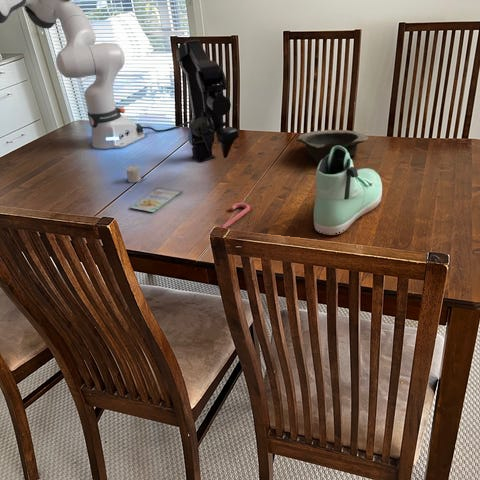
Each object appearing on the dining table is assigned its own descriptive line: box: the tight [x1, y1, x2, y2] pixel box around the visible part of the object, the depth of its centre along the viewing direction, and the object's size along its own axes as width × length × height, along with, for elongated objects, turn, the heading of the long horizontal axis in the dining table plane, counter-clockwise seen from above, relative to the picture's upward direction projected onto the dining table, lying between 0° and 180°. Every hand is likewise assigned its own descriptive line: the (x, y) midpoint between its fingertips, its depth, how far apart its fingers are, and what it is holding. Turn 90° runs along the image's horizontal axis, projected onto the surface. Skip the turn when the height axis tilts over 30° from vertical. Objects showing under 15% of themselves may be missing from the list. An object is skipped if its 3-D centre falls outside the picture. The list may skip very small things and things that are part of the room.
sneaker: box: [313, 146, 383, 236], centre depth 133 cm, size 14×35×20 cm, turn 152°
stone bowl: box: [296, 129, 369, 165], centre depth 171 cm, size 25×25×9 cm
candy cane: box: [220, 202, 251, 229], centre depth 139 cm, size 6×15×2 cm, turn 145°
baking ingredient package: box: [130, 188, 181, 213], centre depth 152 cm, size 9×1×15 cm
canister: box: [125, 165, 142, 183], centre depth 166 cm, size 4×4×4 cm
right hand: (217, 153), depth 159 cm, fingers open, 9 cm apart
